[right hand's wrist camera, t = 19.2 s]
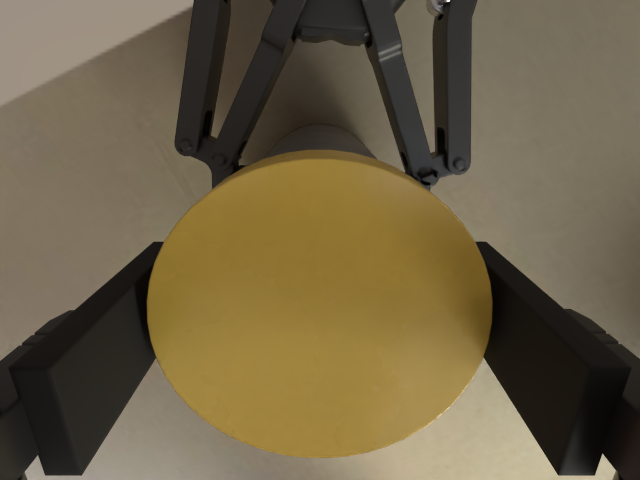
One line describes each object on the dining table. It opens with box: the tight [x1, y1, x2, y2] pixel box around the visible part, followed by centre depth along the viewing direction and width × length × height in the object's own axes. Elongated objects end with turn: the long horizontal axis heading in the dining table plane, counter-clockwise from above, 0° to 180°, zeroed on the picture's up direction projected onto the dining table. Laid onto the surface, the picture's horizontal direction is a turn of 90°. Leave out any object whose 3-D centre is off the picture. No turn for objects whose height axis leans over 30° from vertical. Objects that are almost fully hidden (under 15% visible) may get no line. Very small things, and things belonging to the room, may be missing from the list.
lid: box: [147, 150, 493, 458], centre depth 11 cm, size 9×9×2 cm
